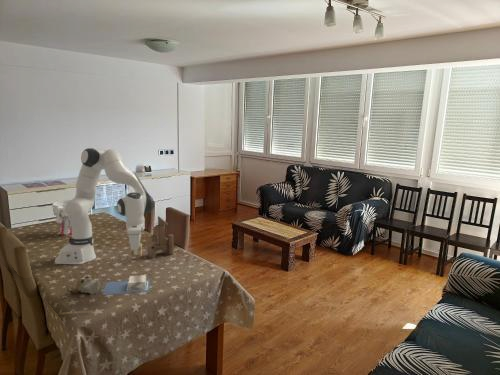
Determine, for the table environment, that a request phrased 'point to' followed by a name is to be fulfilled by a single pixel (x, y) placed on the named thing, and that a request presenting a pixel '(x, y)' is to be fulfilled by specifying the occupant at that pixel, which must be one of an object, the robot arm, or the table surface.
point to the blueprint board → (122, 288)
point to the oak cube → (138, 251)
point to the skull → (62, 217)
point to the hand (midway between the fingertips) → (136, 251)
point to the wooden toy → (160, 240)
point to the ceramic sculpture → (86, 286)
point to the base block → (137, 282)
